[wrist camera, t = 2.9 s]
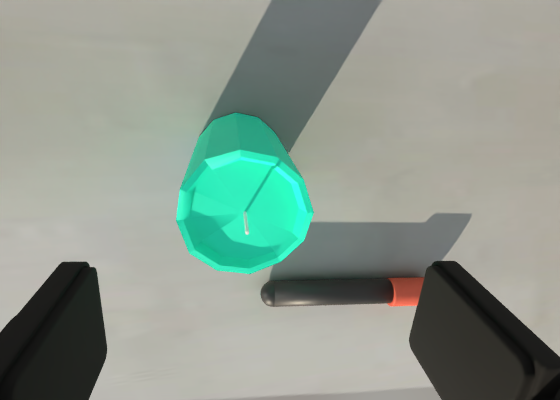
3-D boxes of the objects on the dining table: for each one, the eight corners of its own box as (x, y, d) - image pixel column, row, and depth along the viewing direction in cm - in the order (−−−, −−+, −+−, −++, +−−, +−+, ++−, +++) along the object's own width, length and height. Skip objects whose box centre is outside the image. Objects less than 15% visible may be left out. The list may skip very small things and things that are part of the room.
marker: (259, 298, 30) (261, 316, 28) (260, 274, 29) (262, 291, 27) (415, 294, 32) (428, 310, 30) (420, 272, 31) (434, 287, 29)
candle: (279, 109, 24) (321, 154, 13) (282, 192, 27) (320, 287, 16) (190, 115, 24) (156, 166, 13) (200, 198, 26) (180, 303, 15)
